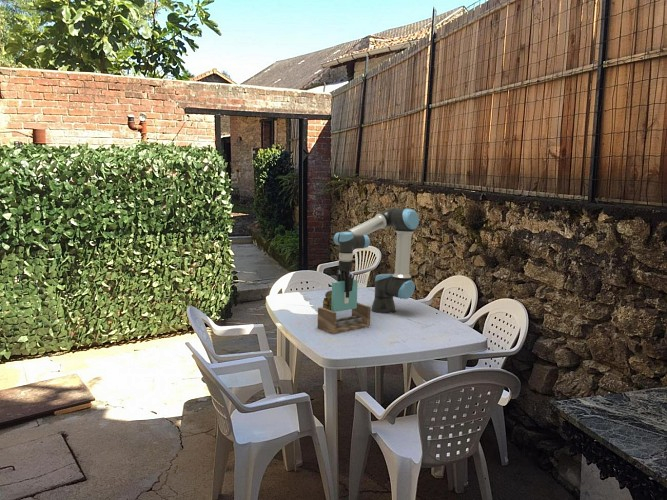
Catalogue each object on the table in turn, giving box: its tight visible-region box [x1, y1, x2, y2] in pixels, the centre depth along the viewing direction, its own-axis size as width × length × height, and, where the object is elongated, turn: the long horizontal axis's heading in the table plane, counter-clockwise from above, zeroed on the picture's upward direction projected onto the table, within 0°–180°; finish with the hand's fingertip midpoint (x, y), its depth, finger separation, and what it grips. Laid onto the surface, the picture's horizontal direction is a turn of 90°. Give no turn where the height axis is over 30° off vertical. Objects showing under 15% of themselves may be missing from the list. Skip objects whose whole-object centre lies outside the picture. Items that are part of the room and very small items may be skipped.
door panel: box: [331, 279, 359, 313], centre depth 294 cm, size 16×2×16 cm, turn 127°
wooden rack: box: [317, 302, 372, 335], centre depth 296 cm, size 26×14×12 cm, turn 127°
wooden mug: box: [322, 289, 332, 311], centre depth 315 cm, size 9×14×18 cm, turn 7°
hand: (344, 302), depth 295 cm, fingers closed on door panel, 2 cm apart
